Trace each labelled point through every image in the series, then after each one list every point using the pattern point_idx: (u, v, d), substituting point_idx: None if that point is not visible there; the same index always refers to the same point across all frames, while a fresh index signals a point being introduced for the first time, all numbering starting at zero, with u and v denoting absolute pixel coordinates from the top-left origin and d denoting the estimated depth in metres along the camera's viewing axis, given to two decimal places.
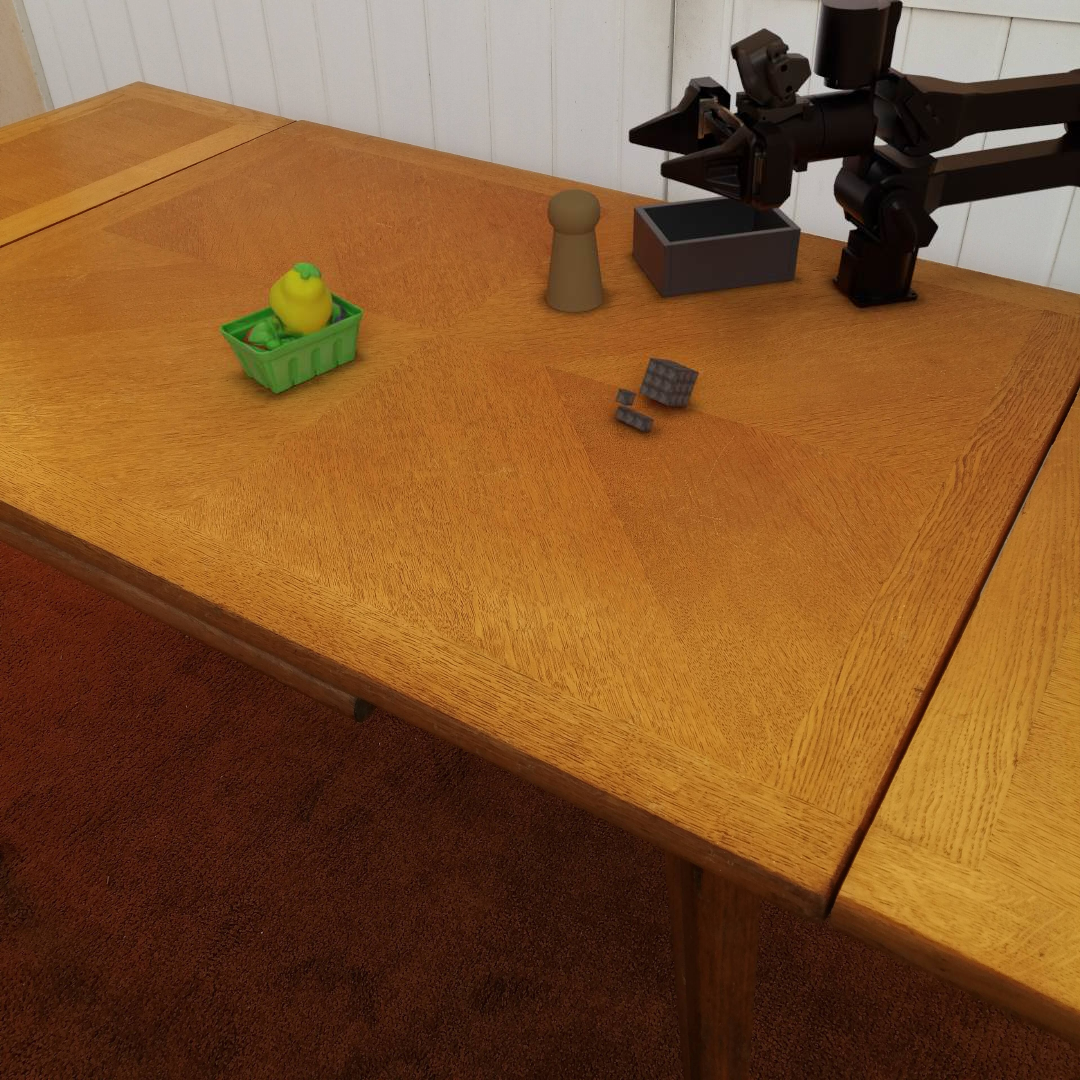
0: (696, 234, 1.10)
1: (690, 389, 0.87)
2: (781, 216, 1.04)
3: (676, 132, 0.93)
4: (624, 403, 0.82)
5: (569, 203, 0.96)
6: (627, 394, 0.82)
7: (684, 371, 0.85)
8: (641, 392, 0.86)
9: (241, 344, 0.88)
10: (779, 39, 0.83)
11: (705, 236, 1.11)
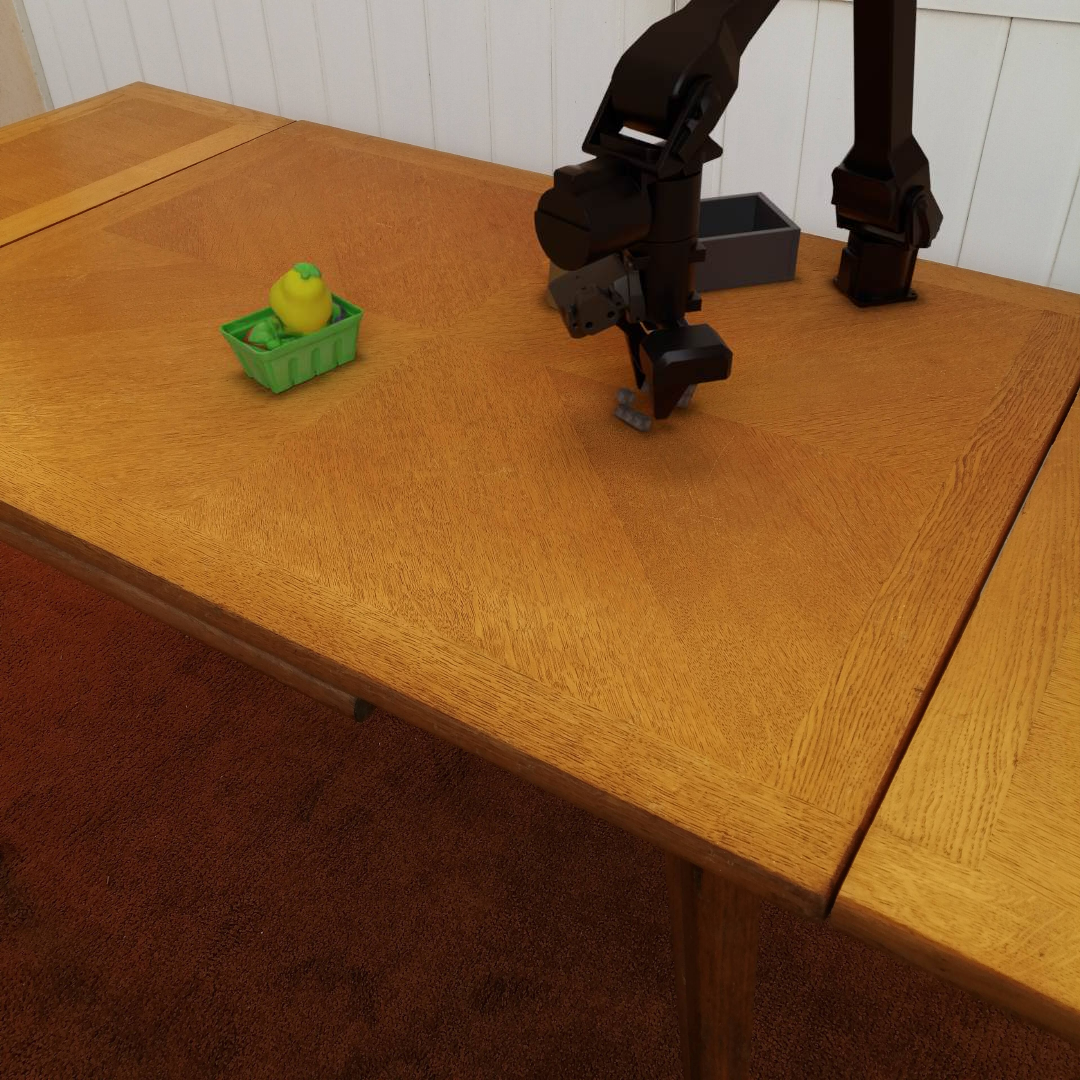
0: None
1: (692, 391, 0.86)
2: (781, 216, 1.04)
3: None
4: (623, 402, 0.82)
5: None
6: (627, 394, 0.82)
7: None
8: (643, 390, 0.86)
9: (241, 344, 0.88)
10: (560, 308, 0.76)
11: (705, 236, 1.11)
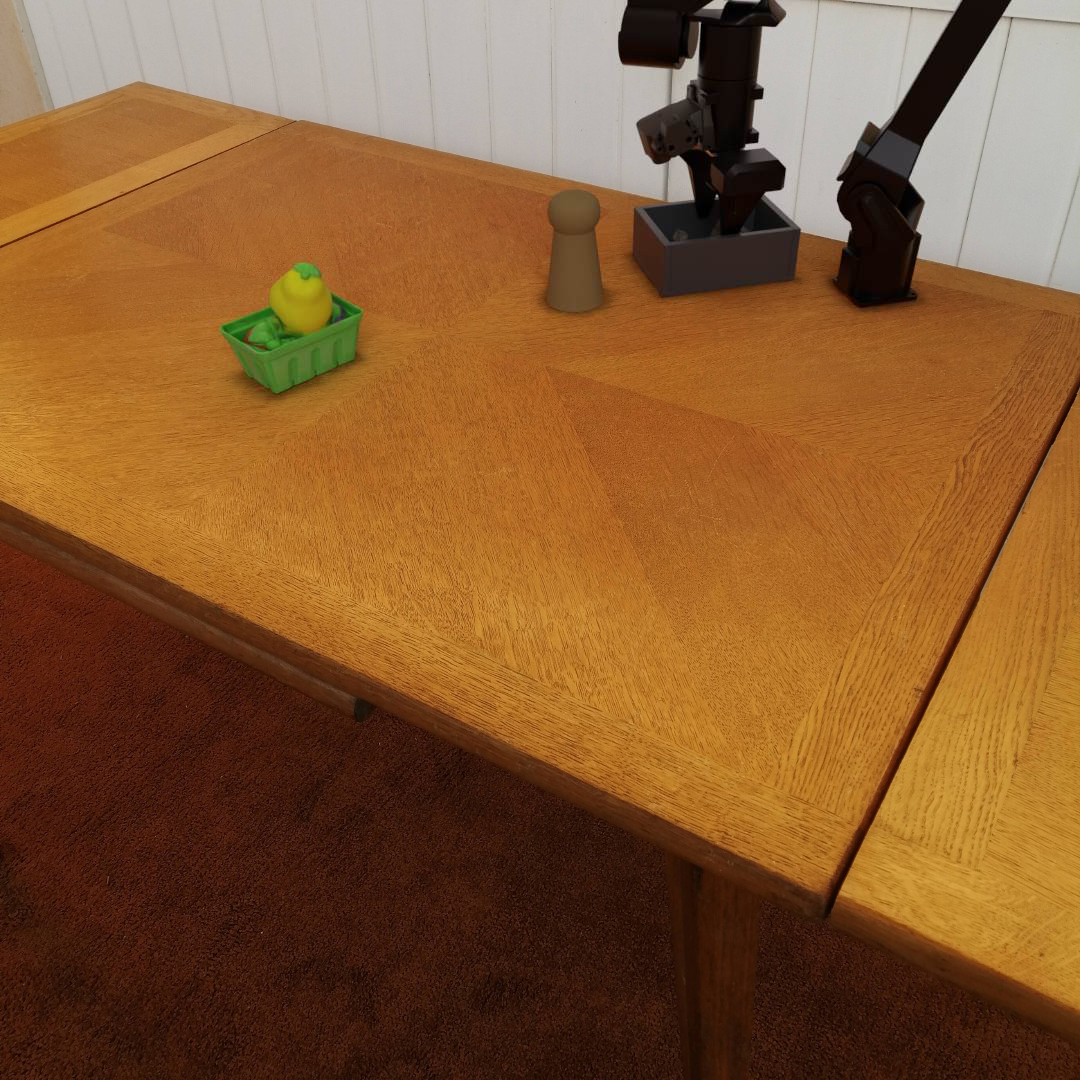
0: (696, 234, 1.10)
1: None
2: (781, 216, 1.04)
3: (708, 171, 1.06)
4: (676, 240, 1.05)
5: (569, 203, 0.96)
6: (679, 233, 1.04)
7: None
8: None
9: (241, 344, 0.88)
10: (647, 137, 0.96)
11: (705, 236, 1.11)
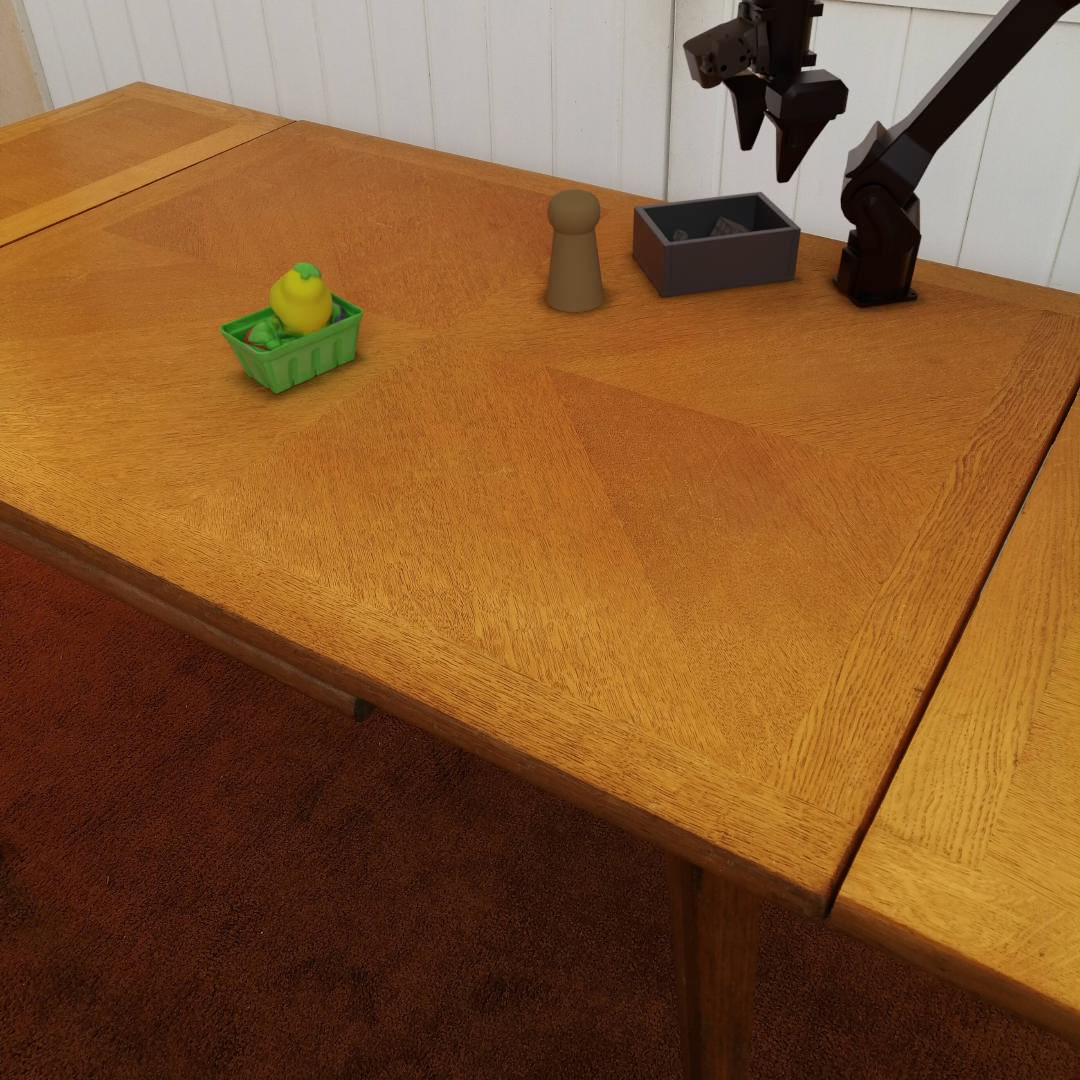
0: (696, 234, 1.10)
1: None
2: (781, 216, 1.04)
3: (753, 99, 0.99)
4: (676, 240, 1.05)
5: (569, 203, 0.96)
6: (679, 233, 1.04)
7: (738, 230, 1.05)
8: None
9: (241, 344, 0.88)
10: (697, 57, 0.88)
11: (705, 236, 1.11)
